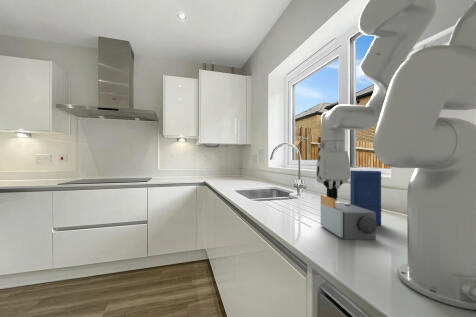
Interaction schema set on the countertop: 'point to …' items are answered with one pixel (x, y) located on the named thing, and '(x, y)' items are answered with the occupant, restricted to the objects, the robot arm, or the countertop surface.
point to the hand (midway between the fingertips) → (332, 199)
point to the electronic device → (366, 191)
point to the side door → (331, 216)
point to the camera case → (357, 222)
